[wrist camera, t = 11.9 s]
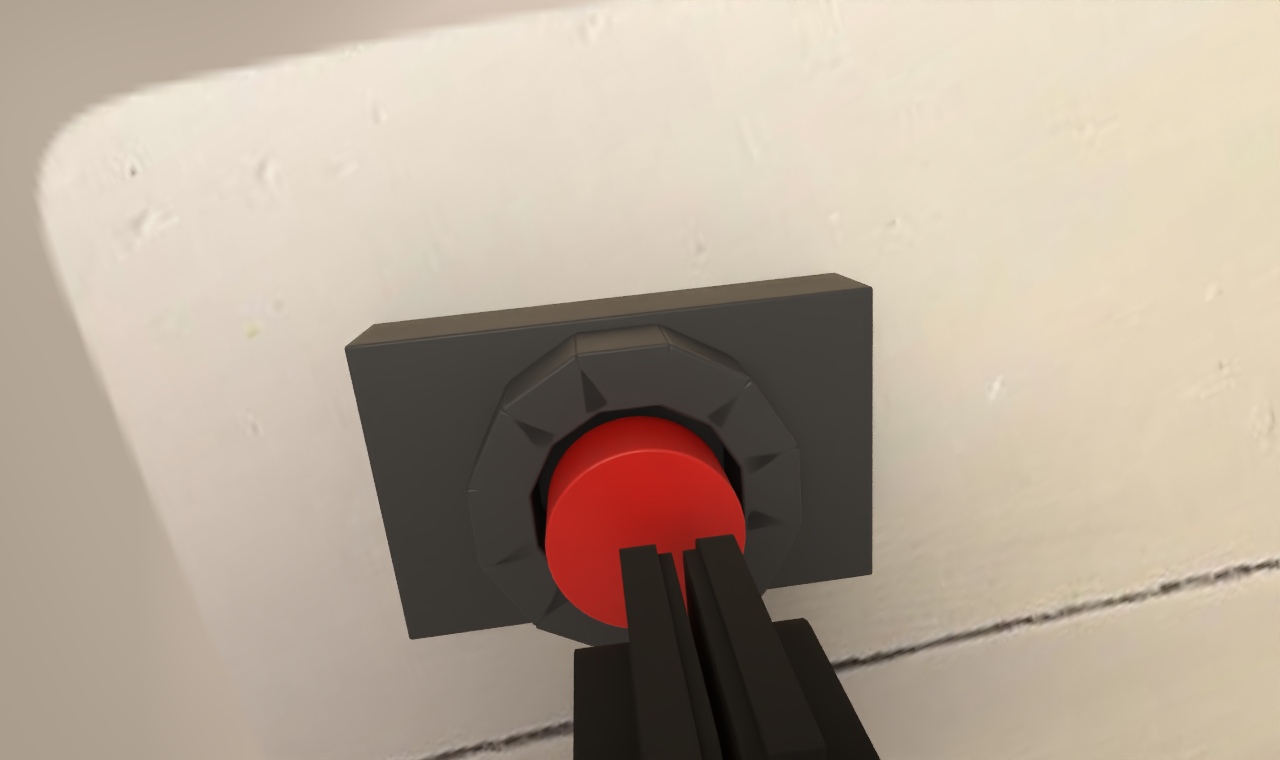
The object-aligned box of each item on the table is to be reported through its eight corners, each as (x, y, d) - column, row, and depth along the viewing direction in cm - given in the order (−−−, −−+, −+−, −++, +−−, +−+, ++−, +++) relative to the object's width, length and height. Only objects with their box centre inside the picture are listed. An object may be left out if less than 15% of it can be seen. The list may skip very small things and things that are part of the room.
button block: (427, 587, 18) (390, 697, 14) (372, 324, 16) (312, 370, 12) (839, 530, 19) (907, 621, 15) (836, 272, 17) (913, 301, 13)
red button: (559, 589, 15) (558, 643, 13) (535, 427, 14) (531, 463, 12) (730, 565, 15) (751, 615, 13) (720, 404, 14) (741, 436, 12)
